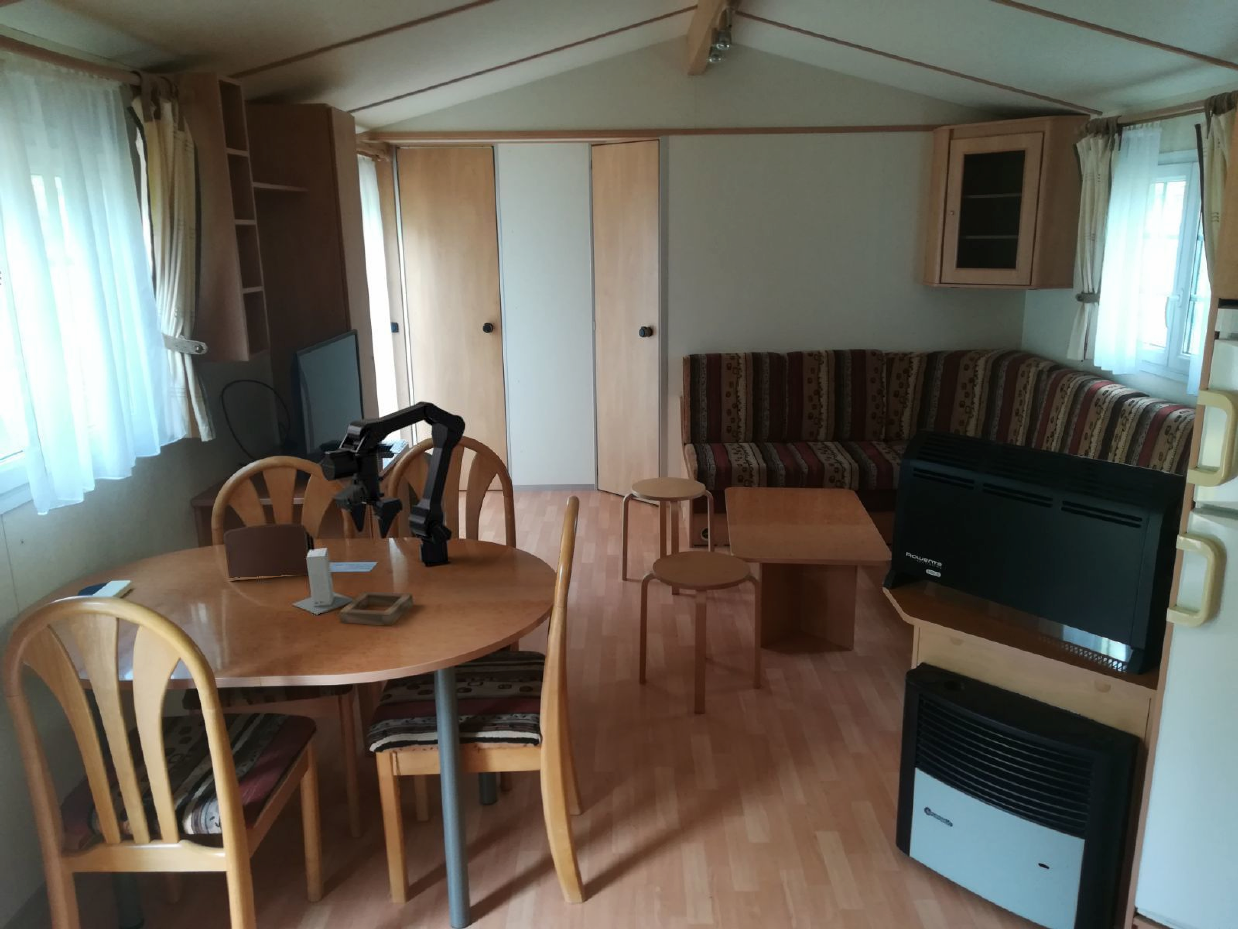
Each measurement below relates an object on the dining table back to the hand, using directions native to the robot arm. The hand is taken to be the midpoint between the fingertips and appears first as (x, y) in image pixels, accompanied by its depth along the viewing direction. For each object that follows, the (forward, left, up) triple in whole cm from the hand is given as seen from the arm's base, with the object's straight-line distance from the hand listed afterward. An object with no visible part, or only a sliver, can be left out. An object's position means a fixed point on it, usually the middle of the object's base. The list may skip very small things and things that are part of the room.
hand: (371, 535), depth 223 cm
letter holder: (+23, -19, -13) cm, 33 cm away
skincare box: (+13, +9, -12) cm, 20 cm away
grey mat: (+13, +9, -12) cm, 20 cm away
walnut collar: (+2, +20, -12) cm, 24 cm away
